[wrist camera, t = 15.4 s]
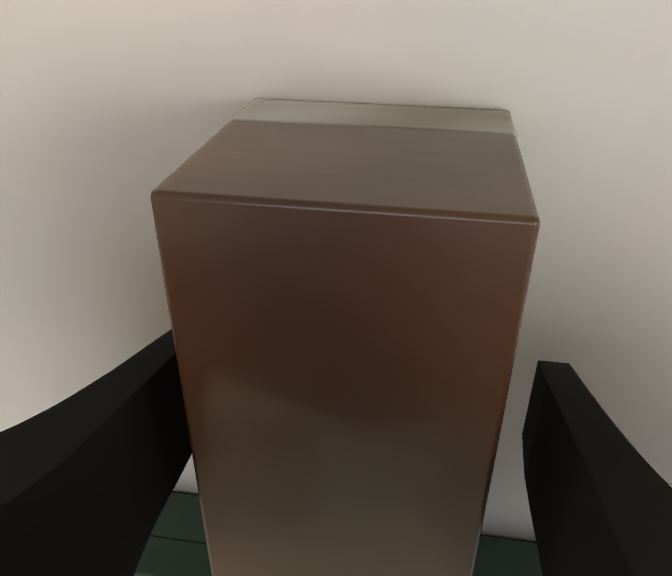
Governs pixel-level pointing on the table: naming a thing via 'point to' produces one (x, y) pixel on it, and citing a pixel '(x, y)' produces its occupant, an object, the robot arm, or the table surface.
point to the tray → (194, 565)
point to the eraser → (347, 331)
